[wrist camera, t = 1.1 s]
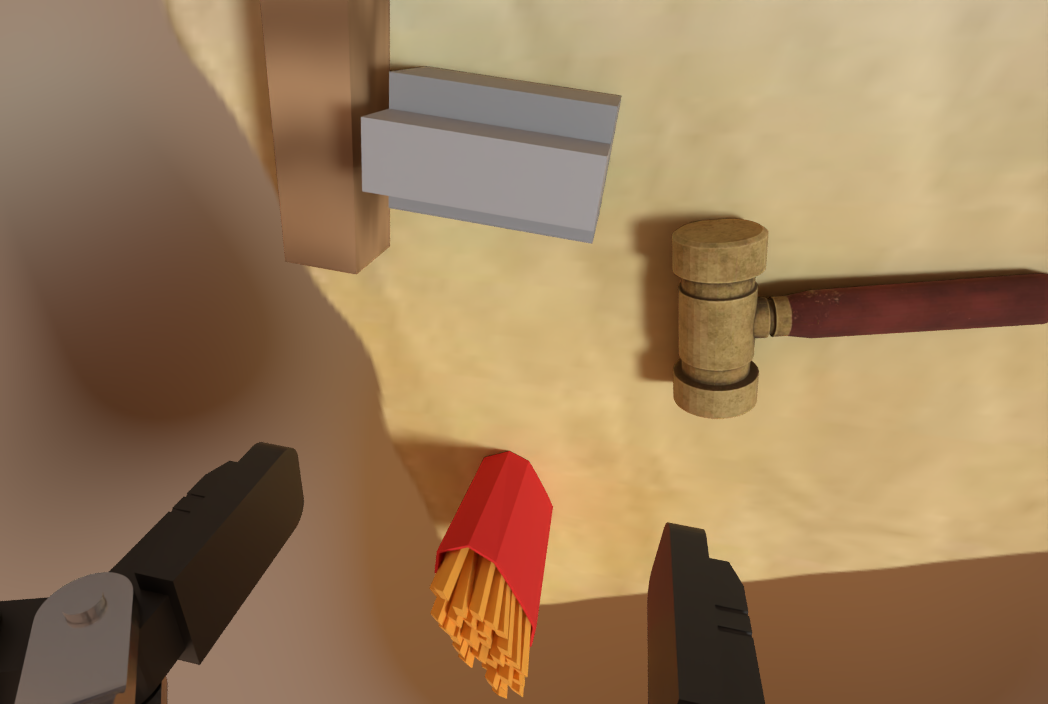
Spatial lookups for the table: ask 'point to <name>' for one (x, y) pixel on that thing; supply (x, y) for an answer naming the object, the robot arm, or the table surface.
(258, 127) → the table surface
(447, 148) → the steps
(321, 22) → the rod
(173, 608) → the robot arm
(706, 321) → the gavel
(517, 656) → the french fries
